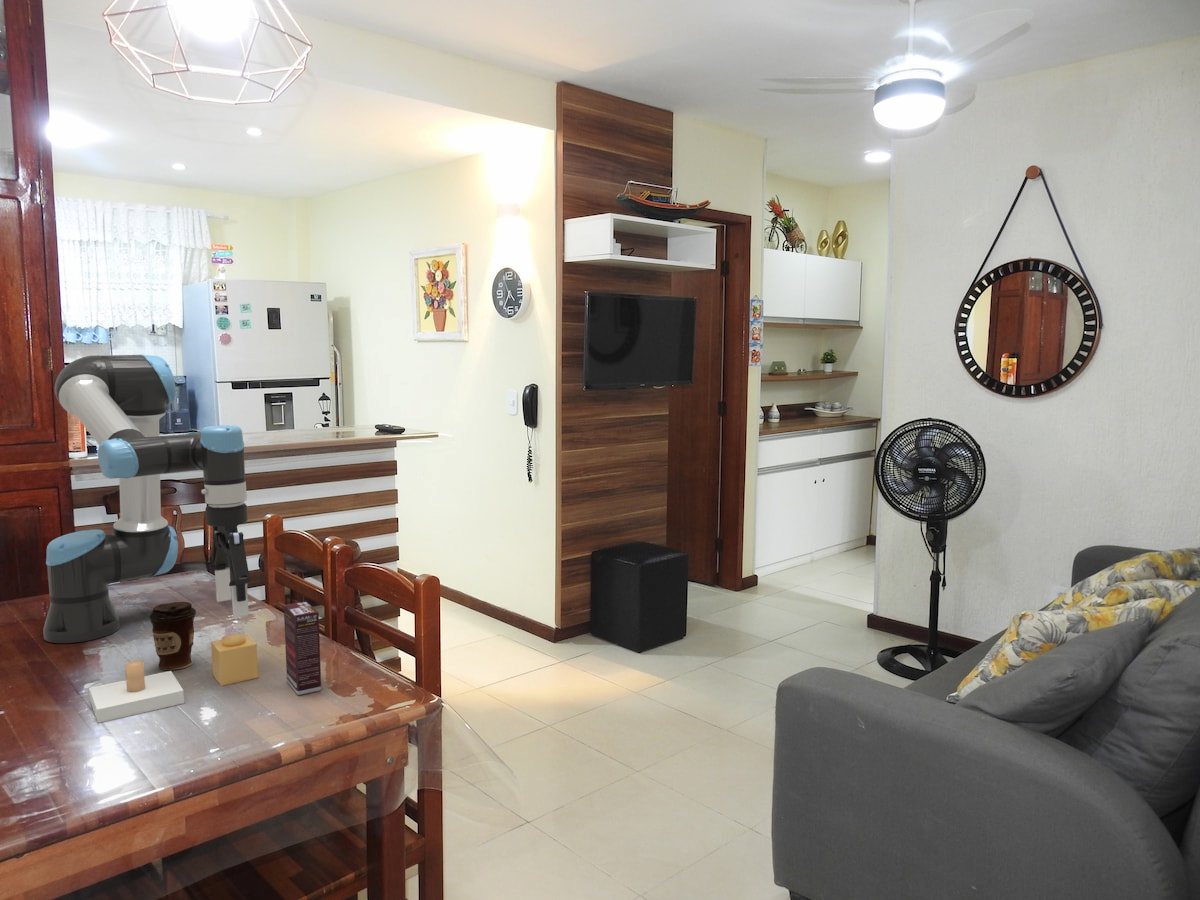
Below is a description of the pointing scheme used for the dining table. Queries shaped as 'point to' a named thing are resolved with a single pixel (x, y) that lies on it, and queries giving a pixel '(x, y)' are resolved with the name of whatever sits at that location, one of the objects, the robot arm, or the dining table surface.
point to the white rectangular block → (135, 693)
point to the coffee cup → (173, 634)
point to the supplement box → (302, 647)
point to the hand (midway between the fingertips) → (232, 608)
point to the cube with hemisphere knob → (234, 659)
